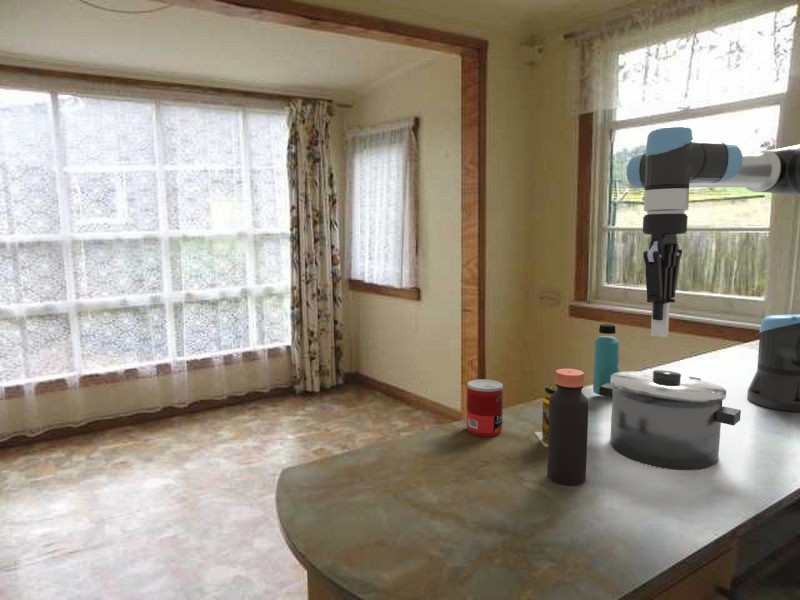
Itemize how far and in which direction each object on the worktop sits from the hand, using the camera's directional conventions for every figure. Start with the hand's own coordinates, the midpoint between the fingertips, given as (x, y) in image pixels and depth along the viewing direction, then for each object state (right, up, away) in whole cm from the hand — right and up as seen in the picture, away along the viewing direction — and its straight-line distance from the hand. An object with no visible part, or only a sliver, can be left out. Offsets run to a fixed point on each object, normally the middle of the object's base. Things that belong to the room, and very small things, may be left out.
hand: (659, 335), depth 104 cm
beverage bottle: (+5, -20, +40) cm, 45 cm away
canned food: (-31, -23, +18) cm, 43 cm away
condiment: (-17, -24, +12) cm, 31 cm away
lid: (+4, -11, +5) cm, 13 cm away
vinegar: (-20, -26, -6) cm, 33 cm away
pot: (+4, -24, +7) cm, 25 cm away
